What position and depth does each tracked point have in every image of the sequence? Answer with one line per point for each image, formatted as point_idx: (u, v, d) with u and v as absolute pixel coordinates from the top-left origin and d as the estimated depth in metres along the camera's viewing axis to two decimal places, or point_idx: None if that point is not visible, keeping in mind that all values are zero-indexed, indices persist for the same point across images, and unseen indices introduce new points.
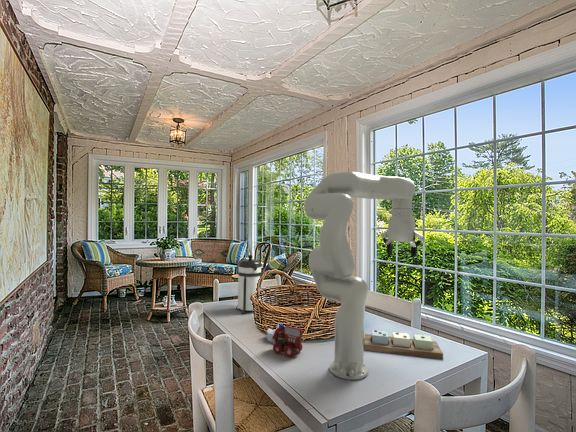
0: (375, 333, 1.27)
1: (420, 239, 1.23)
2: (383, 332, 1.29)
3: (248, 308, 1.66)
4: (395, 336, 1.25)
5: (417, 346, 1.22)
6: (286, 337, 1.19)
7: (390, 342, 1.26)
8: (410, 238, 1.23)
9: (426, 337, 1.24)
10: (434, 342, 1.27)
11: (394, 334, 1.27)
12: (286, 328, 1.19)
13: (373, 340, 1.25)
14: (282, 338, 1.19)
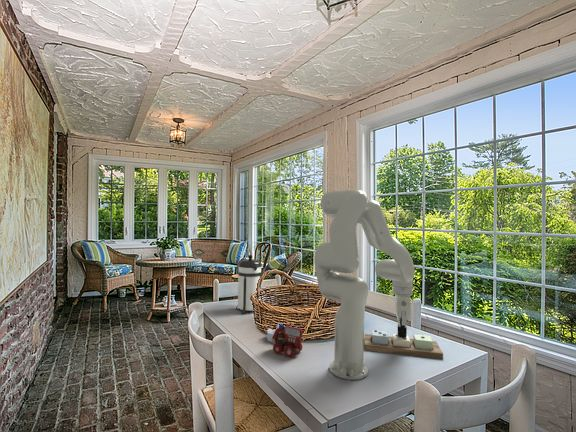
0: (375, 333, 1.27)
1: None
2: (383, 332, 1.29)
3: (248, 308, 1.66)
4: (395, 338, 1.25)
5: (417, 346, 1.22)
6: (286, 337, 1.19)
7: (390, 342, 1.26)
8: None
9: (426, 337, 1.24)
10: (434, 342, 1.27)
11: (394, 336, 1.27)
12: (286, 328, 1.19)
13: (373, 340, 1.25)
14: (282, 338, 1.19)
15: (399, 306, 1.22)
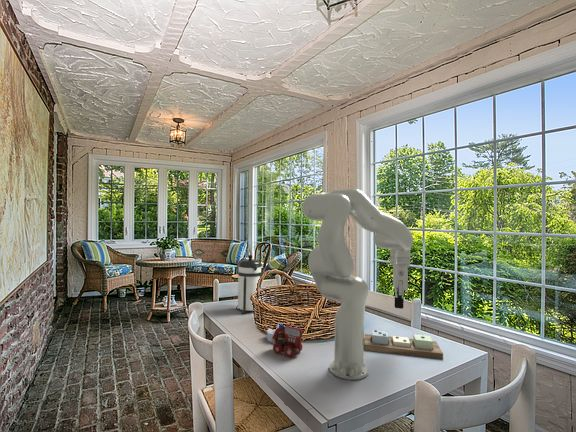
0: (375, 333, 1.27)
1: None
2: (383, 332, 1.29)
3: (248, 308, 1.66)
4: (395, 340, 1.25)
5: (417, 346, 1.22)
6: (286, 337, 1.19)
7: (390, 342, 1.26)
8: None
9: (426, 337, 1.24)
10: (434, 342, 1.27)
11: (394, 338, 1.27)
12: (286, 328, 1.19)
13: (373, 340, 1.25)
14: (282, 338, 1.19)
15: (396, 276, 1.22)
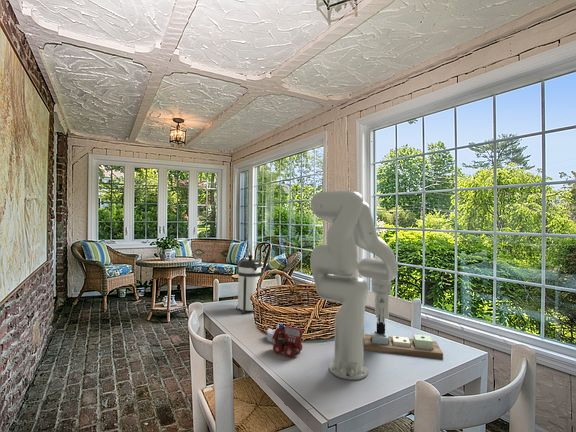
0: (375, 334, 1.27)
1: None
2: None
3: (248, 308, 1.66)
4: (395, 340, 1.25)
5: (417, 346, 1.22)
6: (286, 337, 1.19)
7: (390, 342, 1.26)
8: None
9: (426, 337, 1.24)
10: (434, 342, 1.27)
11: (394, 338, 1.27)
12: (286, 328, 1.19)
13: (373, 341, 1.25)
14: (282, 338, 1.19)
15: (377, 303, 1.24)
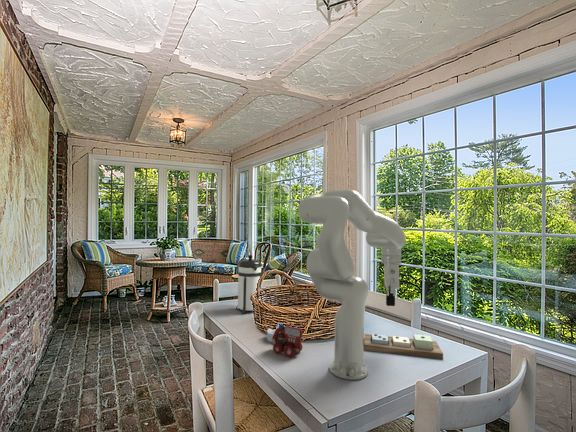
0: (375, 337, 1.27)
1: None
2: (383, 336, 1.29)
3: (248, 308, 1.66)
4: (395, 340, 1.25)
5: (417, 346, 1.22)
6: (286, 337, 1.19)
7: (390, 342, 1.26)
8: None
9: (426, 337, 1.24)
10: (434, 342, 1.27)
11: (394, 338, 1.27)
12: (286, 328, 1.19)
13: None
14: (282, 338, 1.19)
15: (388, 274, 1.23)
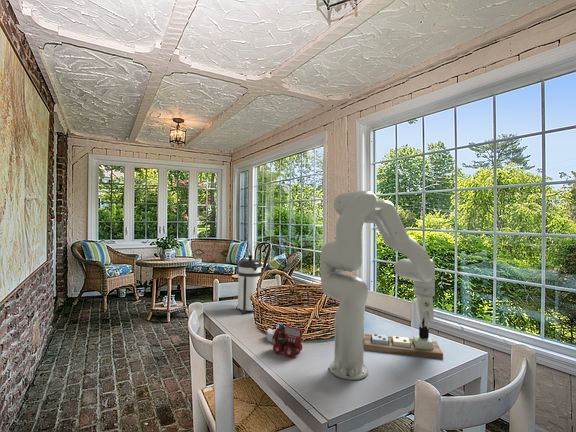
0: (375, 337, 1.27)
1: None
2: (383, 336, 1.29)
3: (248, 308, 1.66)
4: (395, 340, 1.25)
5: (417, 347, 1.22)
6: (286, 337, 1.19)
7: (390, 342, 1.26)
8: None
9: None
10: (434, 342, 1.27)
11: (394, 338, 1.27)
12: (286, 328, 1.19)
13: None
14: (282, 338, 1.19)
15: (422, 307, 1.20)
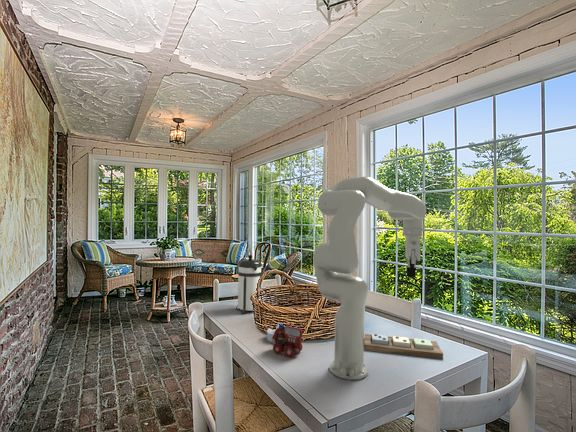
0: (375, 337, 1.27)
1: None
2: (383, 336, 1.29)
3: (248, 308, 1.66)
4: (395, 340, 1.25)
5: None
6: (286, 337, 1.19)
7: (390, 342, 1.26)
8: None
9: (426, 341, 1.24)
10: (434, 342, 1.27)
11: (394, 338, 1.27)
12: (286, 328, 1.19)
13: None
14: (282, 338, 1.19)
15: (409, 245, 1.28)
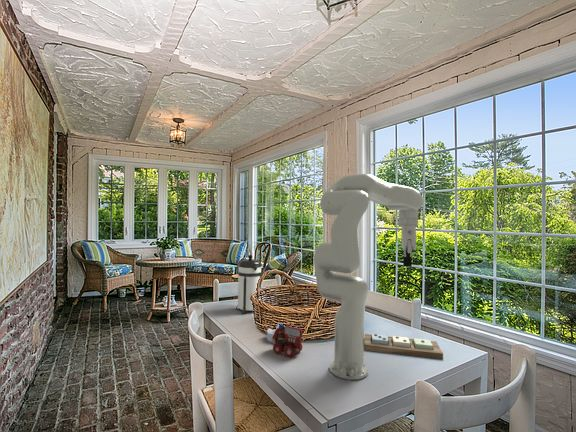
0: (375, 337, 1.27)
1: None
2: (383, 336, 1.29)
3: (248, 308, 1.66)
4: (395, 340, 1.25)
5: None
6: (286, 337, 1.19)
7: (390, 342, 1.26)
8: None
9: (426, 341, 1.24)
10: (434, 342, 1.27)
11: (394, 338, 1.27)
12: (286, 328, 1.19)
13: None
14: (282, 338, 1.19)
15: (405, 235, 1.31)
